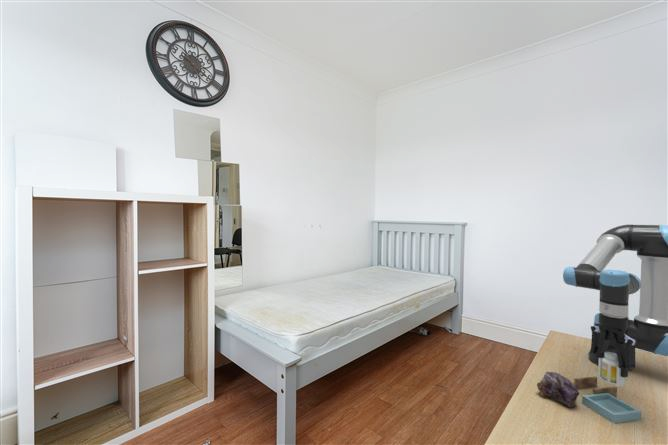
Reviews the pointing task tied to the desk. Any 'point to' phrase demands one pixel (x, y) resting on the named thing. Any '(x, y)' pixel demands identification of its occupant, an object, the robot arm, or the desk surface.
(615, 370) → the supplement bottle
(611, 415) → the tray
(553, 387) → the rock
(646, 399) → the desk surface
